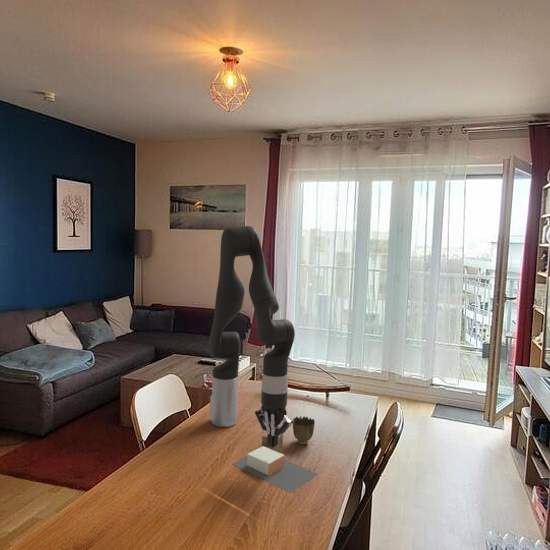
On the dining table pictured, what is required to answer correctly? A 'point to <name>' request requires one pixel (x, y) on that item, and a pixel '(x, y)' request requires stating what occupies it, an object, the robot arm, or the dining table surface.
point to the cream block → (265, 460)
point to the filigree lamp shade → (303, 429)
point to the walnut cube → (278, 446)
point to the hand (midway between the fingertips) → (272, 446)
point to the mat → (282, 475)
